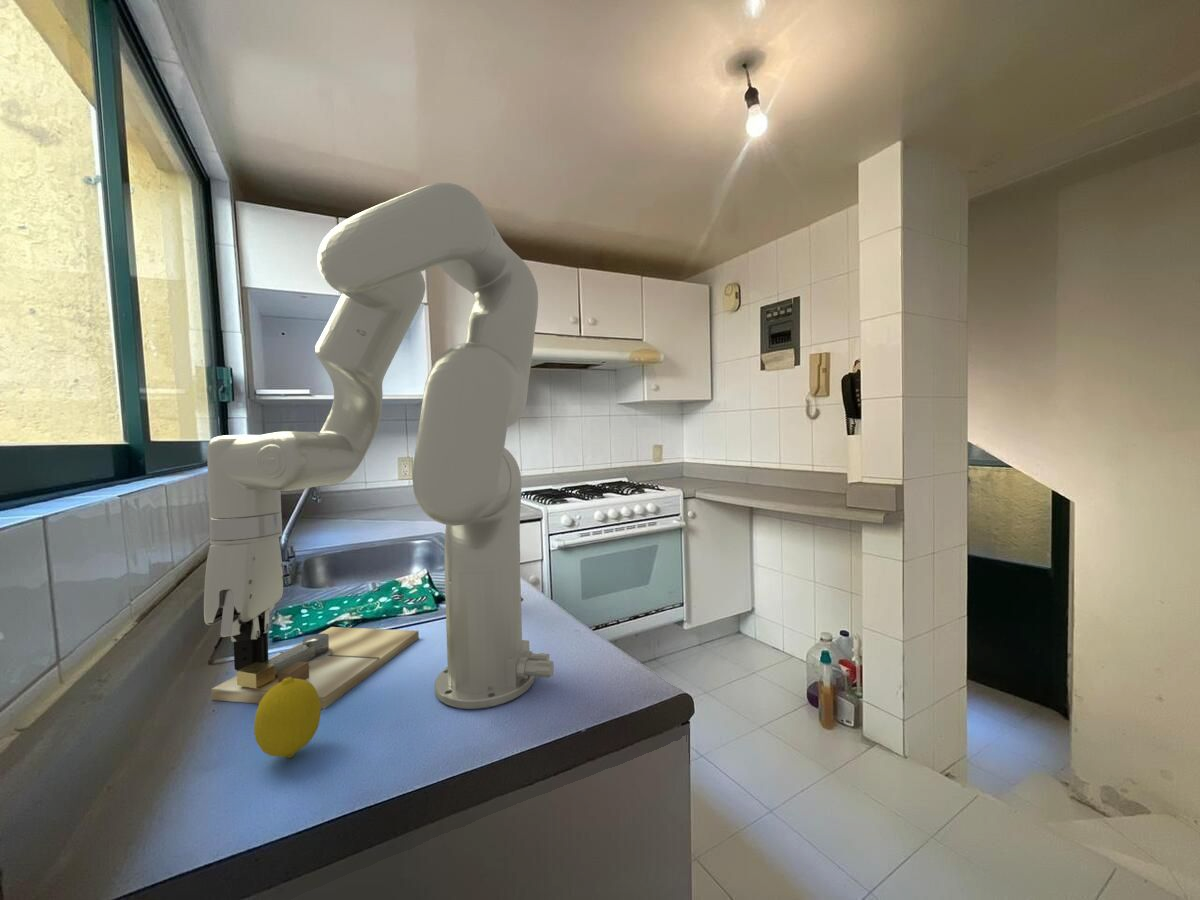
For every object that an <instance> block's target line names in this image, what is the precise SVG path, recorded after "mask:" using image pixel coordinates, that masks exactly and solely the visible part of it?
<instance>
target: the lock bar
mask: <svg viewBox="0 0 1200 900" xmlns="http://www.w3.org/2000/svg"><path fill="white" fill-rule="evenodd" d="M302 642H303V644H301V645H299V646H296V645H295V646H296V647H295V646H293V647H294V648H293V647H291V648H292V649H291V648H289V649H290V650H289V649H287V650H288V651H287V650H285V651H286V652H285V651H283V652H284V653H282V654H279V653H278V654H279V655H277V654H276V655H277V656H275V655H274V656H275V657H273V656H272V657H273V658H271V657H270V658H271V659H269V658H268V659H269V660H267V661H264V662H262V663H259V662H255V663H253V664H251V665H249V666H247V667H244V668H242V669H240V670H238V671H237V670H236V676H237V685H238V686H244V687H250V688H258V687H260V686H262V685H264V684H266V683H268V682H270V681H272V680H274V679H275V677H276V676H278V673H279V672H281V671H282V670H284V669H286V668H287V667H289V666H291V665H293V664H294V663H296V662H305V661H307V660H309V659H311V658H313V657H315V656H318V655H322V654H324V653H326V652H327V651H328V650H329V635H328V634H319V633H317V634H316V633H315V634H311V635H308V636H307V637H304V639H302Z"/></svg>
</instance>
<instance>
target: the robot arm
mask: <svg viewBox="0 0 1200 900" xmlns="http://www.w3.org/2000/svg"><path fill="white" fill-rule="evenodd" d="M316 256H317V257H316V258H317V259H316V261H317V268H318V270H319V273H320V276H322V278H323V279H324V281H325V282H326V283H327V284H328V285H329V286H330V287H331V288H332V289H334V290H335V291H337V292H339V293H340V294H341V295H340V296H339V299H338V301H337V303H336V305H335V308H334V309H333V312H332V314H331V315H330V318H329V319H328V321H327V323H326V325H325V326H324V329H323V331H322V332H321V335H320V337H319V339H318V341H316V344H315V346H314V349H315V352H314V353H315V356H316V357H317V360H319V362H320V363H321V365H322V366H323V368H324V369H325V371H326V372H327V374H328V376H329V378H330V381H331V383H332V388H333V399H332V405H331V409H330V411H329V413H328V415H327V417H326V420H325V421H324V424H323V425H322V427H321V429H320V431H295V430H294V431H292V430H291V431H287V430H285V431H276V432H275V431H274V432H269V433H264V434H225V435H224V434H223V435H217V436H214V437H213V438H211V439H209V440H210V441H208V443H207V448H206V459H207V460H206V462H207V482H208V484H207V485H208V487H207V488H208V510H209V511H208V512H209V523H208V524H209V544H210V546H209V550H208V553H207V558H206V564H205V566H206V567H205V575H204V593H203V595H204V596H203V618H204V623H205V624H206V625H207V626H214V625H216V624H218V623H221V626H220V632H219V633H220V634H219V635H220V637H221V638H225V637H230V641H231V642H233V659H234V660H233V662H234V670H235V671H236V672H237V671H238V670H240V669H242V668H244V667H247V666H249V665H251V664H253V663H255V662H259V663H262V662H264V661H267V660H268V659H269V641H268V639H269V636H268V631H269V628H270V614H271V612H272V611H273V610H274V608H275V606H276V604H277V603H278V602H279V601H280V600H281V598H282V597H283V592H284V571H283V560H282V550H281V544H280V537H282V536H283V525H282V524H283V518H282V516H283V515H282V501H281V500H282V497H281V496H282V493H281V492H282V491H283V492H284V491H285V492H287V491H297V490H304V489H310V488H315V487H323V486H331V485H335V484H339V483H342V482H343V481H345V480H347V479H348V478H350V477H351V476H352V475H353V474H354V473H355V471H357V470H358V468H359V466H360V465H361V463H362V461H363V460H364V458H365V456H366V454H367V452H368V450H369V448H370V446H371V445H372V443H373V440H374V438H375V436H376V434H377V432H378V429H379V426H380V422H381V415H382V405H383V382H384V380H385V379H384V378H385V377H386V374H387V372H388V369H389V368H390V366H391V364H392V362H393V359H394V358H395V356H396V354H397V352H398V351H399V348H400V346H401V345H402V343H403V340H404V339H405V336H406V334H407V333H408V330H409V328H410V327H411V324H412V323H413V320H414V319H415V316H416V314H417V313H418V311H419V309H420V307H421V304H422V302H423V300H424V297H425V293H426V292H425V291H426V282H425V278H424V275H423V274H422V272H424V271H426V270H428V269H431V268H434V267H436V266H439V268H440V269H441V270H442V271H443V272H444V273H446V274H447V276H449V278H451V279H452V280H453V281H454V282H455V283H456V284H458V285H459V286H461V287H462V288H464V289H466V290H467V291H468V292H470V293H471V294H472V295H473V297H474V303H473V306H472V307H471V309H470V310H471V311H470V314H469V317H468V322H467V331H466V339H465V342H464V343H459V344H457V345H453V346H451V347H450V348H449V349H447V350H445V351H444V352H443V353H442V354H441V355H439V357H438V358H437V359H436V361H434V363H433V365H432V367H431V369H430V371H429V373H428V375H427V378H426V381H425V385H424V389H423V397H422V401H421V408H420V415H419V416H420V417H419V422H418V423H419V424H418V429H417V437H416V444H415V449H414V459H413V464H412V489H413V493H414V497H415V499H416V502H417V504H418V506H419V507H420V509H421V510H422V512H423V513H424V514H426V516H428V518H430V519H432V520H433V521H435V522H437V523H439V524H442V525H445V532H444V550H443V551H444V552H443V553H444V589H445V590H444V591H445V593H444V595H445V596H444V597H445V620H446V621H445V626H446V627H445V628H446V629H445V631H446V632H445V633H446V658H447V659H446V661H447V666H446V667H445V668H444V669H443V670H442V671H441V672H440V673H438V674H437V677H436V679H435V683H434V691H435V692H434V693H435V695H436V698H437V699H438V700H439V701H440V702H442V703H443V704H445V705H447V706H450V707H453V708H458V709H465V710H467V709H469V710H475V709H477V710H478V709H485V708H490V707H491V708H492V707H496V706H499V705H503V704H506V703H508V702H510V701H512V700H514V699H516V698H518V697H520V696H522V695H523V694H524V693H526V692H527V691H529V689H530V687H532V685H533V683H534V682H535V680H536V677H537V678H545V679H546V678H548V679H551V678H552V677H553V675H554V669H555V668H554V666H555V664H554V661H553V660H550V654H549V653H545V652H544V653H541V652H540V653H533V650H530V640H527V639H525V640H524V639H523V627H522V626H523V624H522V622H523V621H522V592H521V590H522V589H521V586H522V585H521V544H520V543H521V539H520V538H521V534H520V533H521V530H520V528H521V508H522V507H521V506H522V476H521V475H522V474H521V471H520V468H519V467H520V466H519V464H518V462H517V460H516V459H515V457H514V455H513V454H512V453H511V452H510V451H509V450H508V449H507V448H506V447H505V444H506V440H507V439H506V437H507V432H508V428H509V427H512V426H513V425H515V424H516V423H517V422H518V421H519V419H520V418H521V417H522V415H523V413H524V411H525V409H526V405H527V402H528V400H527V399H528V393H529V380H530V374H531V366H532V360H533V358H532V357H533V352H534V343H535V341H534V340H535V334H536V325H537V318H538V309H539V292H538V291H539V290H538V285H537V282H536V279H535V277H534V275H533V272H532V271H531V268H530V267H529V266H528V265H527V263H526V262H525V261H524V260H523V259H522V258H521V257H520V256H519V255H518V254H517V253H515V251H513V249H512V248H510V247H509V245H508V244H507V243H506V242H505V241H504V239H503V237H502V236H501V234H500V233H499V231H498V229H497V228H496V226H495V224H494V222H493V220H492V219H491V217H490V215H489V213H488V211H487V209H486V207H485V206H484V205H483V204H482V202H481V200H480V199H479V198H478V197H477V196H476V195H475V194H474V193H473V192H471V190H469V189H467V188H465V187H463V186H462V185H459V184H456V183H455V184H454V183H451V182H438V183H436V182H435V183H432V184H429V185H428V184H427V185H425V186H422V187H418V188H417V189H414V190H412V191H409V192H406V193H404V194H402V195H398V196H397V197H394V198H391V199H389V200H387V201H385V202H382V203H379V204H377V205H376V204H375V205H374V206H372V207H369V208H367V209H365V210H363V211H361V212H358V213H356V214H354V215H352V216H350V217H348V218H346V219H345V220H343V221H342V222H341V221H340V223H338V224H337V225H335V226H334V227H333V228H332V229H331V230H329V232H328V233H327V234H326V235H325V236H324V237H323V239H322V241H321V243H320V245H319V247H318V250H317V255H316Z"/></svg>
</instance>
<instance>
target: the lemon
mask: <svg viewBox="0 0 1200 900" xmlns="http://www.w3.org/2000/svg"><path fill="white" fill-rule="evenodd" d="M321 713H322V709H321V704H320V699H319V696H318V693H317V691H316V689H315V688H314V686H313V685H312V684H311V683H309V682H307V681H305V680H302V679H293V678H291V677H287V678H285V679H283V681H282V682H280V683H278V684H276V685H275V686H274V687H272V688H271V689H270V690H269V691H268V692H267V693H266V694H265V695H264V697H263V698H262V700H261V701H260V703H259V704H258V706H257V708H256V711H255V717H254V726H253V731H254V733H253V734H254V739H255V741H256V743H257V745H258V747H259V748H260V749H261V751H262V752H264V753H265V755H269V756H271V757H276V758H278V757H283V758H285V759H291V758H292V757H294V755H296V753H297V752H299V751H300V750H302V749H303V748H304V747H305V746H307V745H308V744H309V742H310V741H311V740H312V739H313V738H314V735H315V734H316V733H317V730H318V728H319V725H320V721H321V715H322V714H321Z"/></svg>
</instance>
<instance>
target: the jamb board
mask: <svg viewBox="0 0 1200 900" xmlns="http://www.w3.org/2000/svg"><path fill="white" fill-rule="evenodd" d="M318 634H328V635H329V650H328V651H327V652H326V653H324V654H322V655H318V656H315V657H313V658H311V659H309V660H307V661H305V662H296V663H294V664H293V665H291V666H289V667H287V668H286V669H284V670H282V671H281V672H279V673H278V676H276V677H275V679H274V680H272V681H270V682H268V683H266V684H264V685H262V686H260V687H258V688H250V687H244V686H238V685H237V675H235V676H233V677H231V678H229V679H227V680H225V681H224V682H221V683H220V684H218V685H216V686H214V687H212V688H211V700H212V701H222V702H232V703H233V702H234V703H245V704H246V703H247V704H258V705H259V703H260V701H261V700H262V698H263V697H264V695H265V694H266V693H267V692H268V691H269V690H270V689H271V688H272V687H274V686H275V685H276V684H278V683H280V682H282V681H283V679H285V678H287V677H291V678H293V679H302V680H305V681H307V682H309V683H311V684H312V685H313V686H314V688H315V689H316V691H317V693H318V696H319V699H320V704H321V710H325V709H326V708H328V707H330V706H331V705H332V704H333V703H334V702H336V701H337V700H338V699H340V698H341V697H343V695H345V694H347V693H348V692H349V691H351V689H353V688H354V687H356V686H357V685H358V684H360V683H362V681H364V680H365V679H366V678H368V677H370V676H371V675H372V674H373V673H375V672H376V671H378V670H379V669H380V668H381V667H383V666H384V665H385V664H386V663H387V662H389V661H390V660H392V659H394V657H396V656H397V655H398V654H400V653H401V652H403V651H404V650H405V649H406V648H408V647H409V646H411V644H413V643H414V642H415V641H417V640H418V639H419V637H420V635H419V634H420V633H419V630H408V629H407V630H404V629H382V628H365V627H364V628H363V627H345V626H344V627H343V626H341V627H340V626H338V627H337V626H330V627H329V628H327V629H325V630H323V631H320V632H319V633H318ZM301 644H303V641H302V642H300V643H299V644H296V645H294V646H293V647H291V648H288V649H287V650H285V651H280V652H279V653H277V654H275V655H273V656H271V657H268V660H269V659H271V658H273V657H275V656H277V655H279V654H282V653H284V652H286V651H288V650H290V649H292V648H294V647H296V646H299V645H301Z"/></svg>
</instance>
